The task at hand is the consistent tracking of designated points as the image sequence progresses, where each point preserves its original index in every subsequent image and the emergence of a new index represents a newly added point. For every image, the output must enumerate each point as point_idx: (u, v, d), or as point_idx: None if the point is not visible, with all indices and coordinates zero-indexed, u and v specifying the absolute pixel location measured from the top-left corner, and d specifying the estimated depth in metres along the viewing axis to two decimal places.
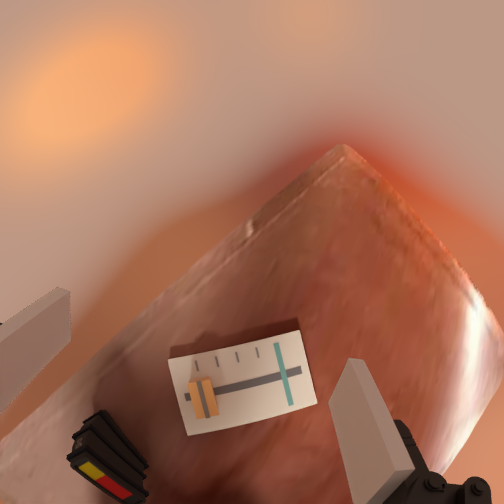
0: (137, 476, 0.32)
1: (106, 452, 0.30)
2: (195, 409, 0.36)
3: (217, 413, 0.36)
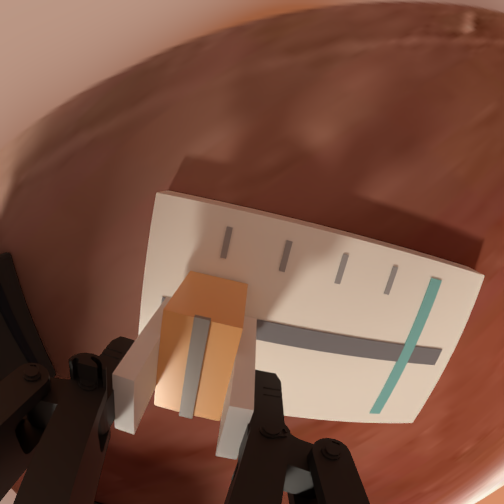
0: None
1: None
2: (159, 383, 0.12)
3: (216, 416, 0.12)
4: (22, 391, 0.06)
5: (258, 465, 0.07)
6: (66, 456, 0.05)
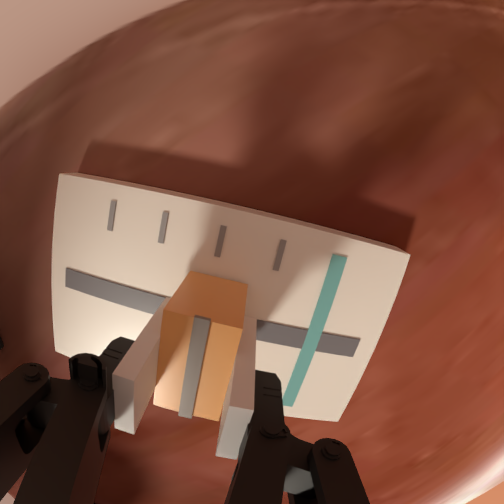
0: None
1: None
2: (159, 383, 0.12)
3: (215, 416, 0.12)
4: (22, 391, 0.06)
5: (258, 465, 0.07)
6: (66, 456, 0.05)
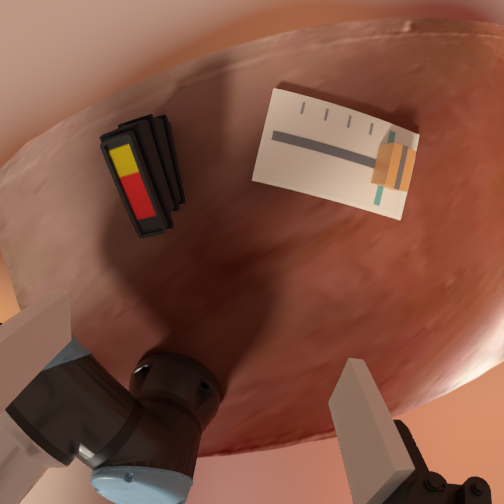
0: (170, 201, 0.33)
1: (151, 151, 0.29)
2: (389, 173, 0.32)
3: (406, 189, 0.32)
4: None
5: None
6: None
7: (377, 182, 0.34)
